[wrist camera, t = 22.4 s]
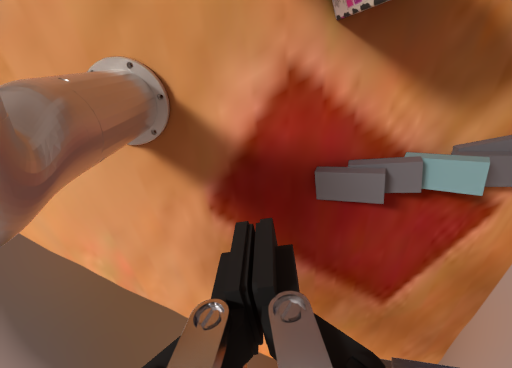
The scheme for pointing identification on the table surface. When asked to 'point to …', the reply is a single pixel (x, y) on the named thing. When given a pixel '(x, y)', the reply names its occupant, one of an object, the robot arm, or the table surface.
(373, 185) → the domino
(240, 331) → the robot arm
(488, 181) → the domino
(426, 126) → the table surface
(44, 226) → the table surface
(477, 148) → the domino
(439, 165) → the domino
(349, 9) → the candy bar box
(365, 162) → the domino
